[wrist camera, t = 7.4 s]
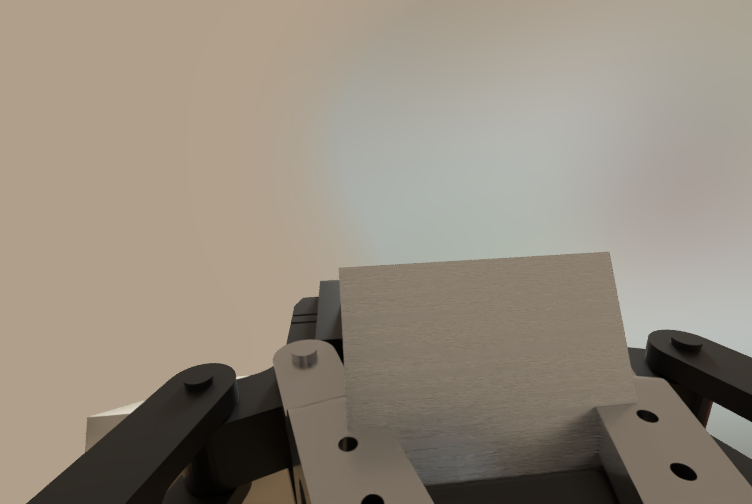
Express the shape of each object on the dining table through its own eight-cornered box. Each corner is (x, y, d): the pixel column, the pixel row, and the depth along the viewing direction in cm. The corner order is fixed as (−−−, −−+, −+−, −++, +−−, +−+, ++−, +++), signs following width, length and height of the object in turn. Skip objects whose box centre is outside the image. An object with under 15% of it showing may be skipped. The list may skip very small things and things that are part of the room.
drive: (351, 502, 5) (338, 267, 6) (348, 366, 31) (346, 325, 31) (649, 470, 6) (609, 251, 6) (401, 361, 31) (398, 321, 32)
